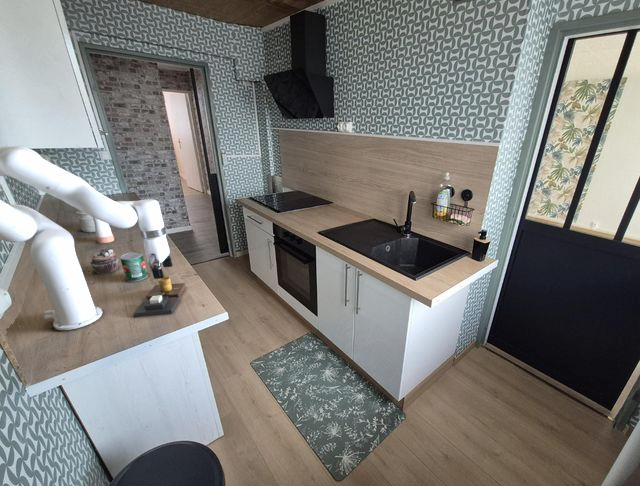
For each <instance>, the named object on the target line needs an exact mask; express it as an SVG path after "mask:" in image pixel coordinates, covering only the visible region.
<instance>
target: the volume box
mask: <svg viewBox="0 0 640 486" xmlns="http://www.w3.org/2000/svg"><path fill="white" fill-rule="evenodd" d="M171 285H172V289H171V290H170V291H167V292H162V291H161V290H160V286H159V284H155V285H154V286H153V288H152V289H151V290H150V291H149V293H148V294H147V295H146V296H145V297H146V300H149V299H150V297H152V296H158V295H162V296H168V298H174V297H179V300H180V298H181V297H182V295H183V293H184V292H185V290H186V288H187V287H186V283H185V282H182V283H181V282H179V283H171Z"/></svg>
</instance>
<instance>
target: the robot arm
mask: <svg viewBox="0 0 640 486" xmlns="http://www.w3.org/2000/svg"><path fill="white" fill-rule="evenodd" d="M6 176H7V177H10V178H12V179H15V180H16V181H19V182H21V183H23V184H26V185H28V186H30V187H32V188H34V189H36V190H39V191H40V192H43V193H45V194H48V195H50V196H52V197H55V198H56V199H59V200H60V201H63V202H64V203H66V204H67V205H69V206H71V207H73V208H75V209H76V210H78V209H79V210H81V211H82V212H84V213H86V214H88V215H90V216H92V217H94V218H96V219H98V220H100V221H103V222H105V223H107V224H109V226H112V227H114V228H118V229H129V228H132V227H134V226H135V225H136V223H137V222H138V227H139V231H140V235H141V238H142V239H143V249H144V250H143V251H144V255H145V259H146V263H147V264H148V266H149V268H150V270H151V272H152V276H153V279H154V280H158V279H160V278H164V276H165V274H164V272H163V268H172V267H173V261H172V257H171V256H172V255H171V254H170V252H171V251H170V245H169V243H168V239H167V237H166V236H167V232H166V227H165V223H164V219H163V215H162V211H161V206H160V203H159V201H158V200H156V199H154V198H146V199H145V198H144V199H140V200H117V201H115V200H113V199H111V198H109V196H107V195H104V194H103V193H101V192H99V191H98V190H96V189H95V188H94V187H92V185H90V184H89V183H88V182H87V181H86V180H84V179H83V178H81V177H80V176H77V175H76V174H73V173H71V172H70V171H68V170H65V169H63V168H61V167H60V166H58V165H56V164H54V163H53V162H50V161H49V160H46V159H44V158H43V156H41V155H40V154H39V153H38V152H37V151H35V150H34V149H32V148H28V147H25V146H16V145H15V146H0V177H6ZM0 240H2V241H5V242H8V243H22V242H25V243H26V244H28V245H30V248H29V249H30V250H29V255H30V260H31V262H32V263H33V265H34V267H35V269H36V271H37V272H38V273H37V274H39V277H40V279H41V281H42V284H43V287H44V288H45V291H46V293H47V296H48V298H49V300H50V303H51V306H52V308H53V309H48V310H45V311H44V314H43V315H44V316H43V318H44V320H52V319H53V322H52V326H53V328H54V329H55V330H56V331H57V330H58V331H71V330H76V329H80V328H84V327H86V326H88V325H91V324H93V323H94V322H96V321H97V320H99V319H100V318H101V317H102V315H103V309H102V308H101V307H99V306H95V304H94V301H93V298H92V296H91V292H90V289H89V286H88V284H87V281H86V278H85V275H84V272H83V269H82V266H81V263H80V261H79V259H78V256H77V253H76V249H75V239H74V237H73V235H72V234H71V233H70V232H69V231H68V230H66V229H65V228H63V226H61V225H59V224H58V223H56V222H54V221H53V220H51V219H50V218H48V217H47V216H45V215H44V214H42V213H40V212H39V211H37V210H36V209H33V208H31V207H30V206H26V205H23V204H15V203H14V204H9V203H7V202H6V201H4V200H2V199H0ZM161 267H163V268H161Z"/></svg>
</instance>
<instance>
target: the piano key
mask: <svg viewBox="0 0 640 486" xmlns="http://www.w3.org/2000/svg"><path fill="white" fill-rule="evenodd" d="M149 301H150V304H154V303H160V302H161V301H162V295H158V296H152V297H151V299H150V300H149Z"/></svg>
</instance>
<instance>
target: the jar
mask: <svg viewBox="0 0 640 486" xmlns="http://www.w3.org/2000/svg"><path fill="white" fill-rule="evenodd" d="M75 214H77V219H78V222H79V224H80V229H81V231H82V232H84V233H96V232H95V224H94V221H93V217H92V216H90V215H88V214H86V213H84V212H82V211H81V210H79V209H77V210H76V211H75Z"/></svg>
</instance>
